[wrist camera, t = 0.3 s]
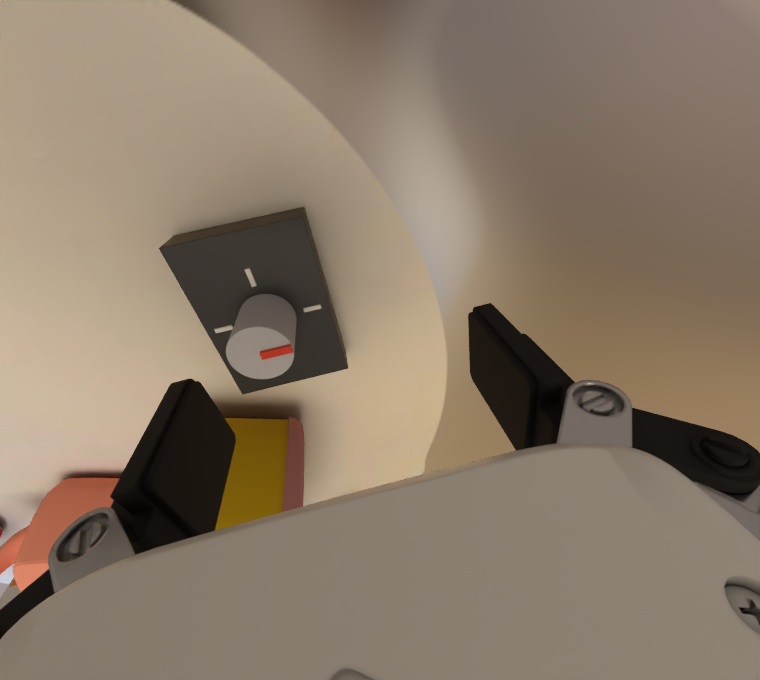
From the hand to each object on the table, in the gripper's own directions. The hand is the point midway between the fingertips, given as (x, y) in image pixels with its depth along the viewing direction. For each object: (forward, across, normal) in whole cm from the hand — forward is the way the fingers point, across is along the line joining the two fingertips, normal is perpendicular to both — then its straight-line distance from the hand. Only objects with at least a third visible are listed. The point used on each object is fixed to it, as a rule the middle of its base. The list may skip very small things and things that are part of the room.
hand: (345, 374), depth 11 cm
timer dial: (+15, +6, +5) cm, 17 cm away
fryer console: (+18, +6, +5) cm, 20 cm away
